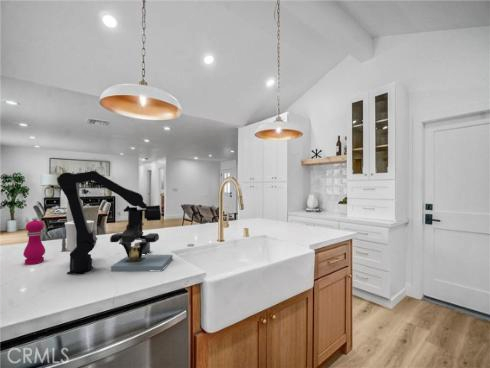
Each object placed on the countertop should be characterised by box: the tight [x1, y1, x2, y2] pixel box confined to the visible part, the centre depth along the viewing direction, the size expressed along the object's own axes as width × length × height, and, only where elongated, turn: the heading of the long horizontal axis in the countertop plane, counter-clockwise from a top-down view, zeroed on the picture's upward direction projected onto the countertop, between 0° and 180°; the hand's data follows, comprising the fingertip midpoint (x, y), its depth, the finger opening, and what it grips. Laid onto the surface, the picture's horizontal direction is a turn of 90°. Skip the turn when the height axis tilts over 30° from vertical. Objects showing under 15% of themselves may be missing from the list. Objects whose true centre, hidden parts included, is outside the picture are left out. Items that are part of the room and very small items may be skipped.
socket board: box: [110, 254, 174, 272], centre depth 104 cm, size 20×16×2 cm
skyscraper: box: [60, 199, 84, 253], centre depth 127 cm, size 8×8×28 cm
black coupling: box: [134, 241, 151, 255], centre depth 122 cm, size 7×7×5 cm
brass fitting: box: [129, 245, 140, 263], centre depth 104 cm, size 4×4×6 cm
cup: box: [64, 219, 95, 254], centre depth 105 cm, size 11×11×18 cm
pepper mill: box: [23, 216, 46, 266], centre depth 105 cm, size 7×7×20 cm
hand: (134, 257), depth 104 cm, fingers closed on brass fitting, 4 cm apart
